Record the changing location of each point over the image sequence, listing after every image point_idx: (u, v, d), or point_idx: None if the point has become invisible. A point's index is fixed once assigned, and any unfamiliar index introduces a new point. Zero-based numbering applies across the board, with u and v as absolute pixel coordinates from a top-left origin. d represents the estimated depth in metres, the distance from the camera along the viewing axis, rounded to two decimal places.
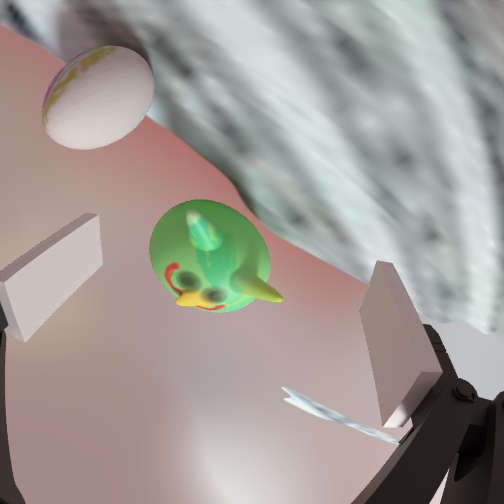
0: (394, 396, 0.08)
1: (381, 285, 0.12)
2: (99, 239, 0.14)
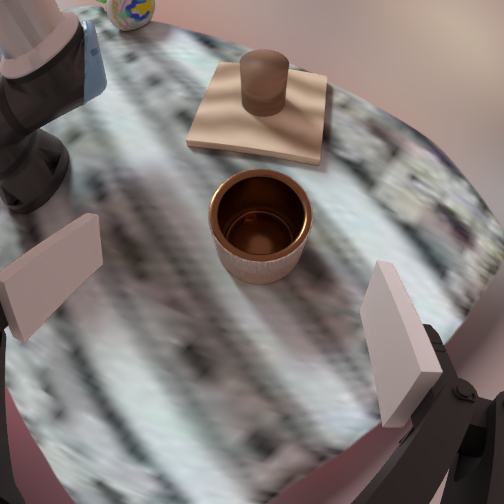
0: (394, 396, 0.08)
1: (381, 285, 0.12)
2: (99, 239, 0.14)
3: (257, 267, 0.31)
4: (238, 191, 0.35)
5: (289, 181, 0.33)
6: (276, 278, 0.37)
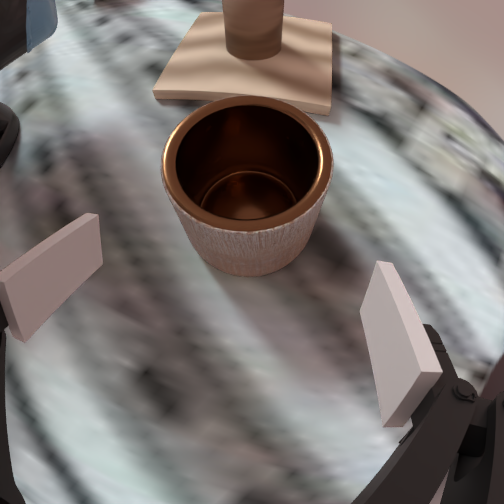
0: (394, 396, 0.08)
1: (381, 285, 0.12)
2: (99, 239, 0.14)
3: (241, 244, 0.18)
4: (213, 132, 0.22)
5: (292, 110, 0.20)
6: (275, 266, 0.24)
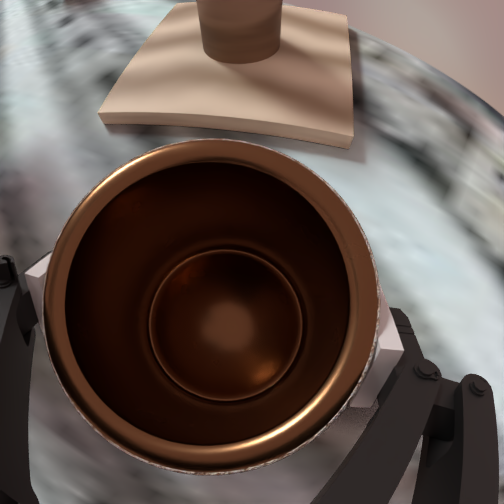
0: None
1: None
2: None
3: None
4: (148, 210, 0.12)
5: (297, 175, 0.10)
6: None
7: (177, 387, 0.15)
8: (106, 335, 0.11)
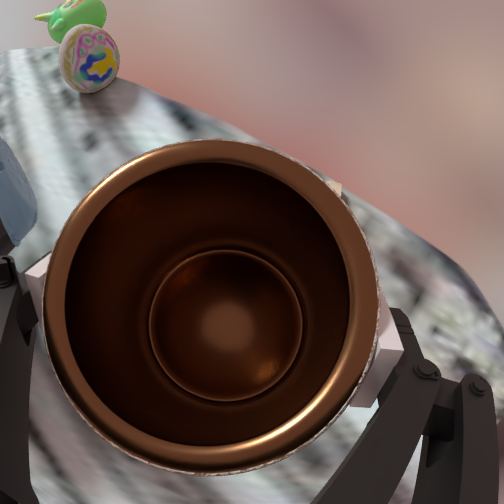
0: None
1: None
2: None
3: None
4: (148, 211, 0.12)
5: (297, 175, 0.10)
6: None
7: (177, 387, 0.15)
8: (106, 336, 0.11)
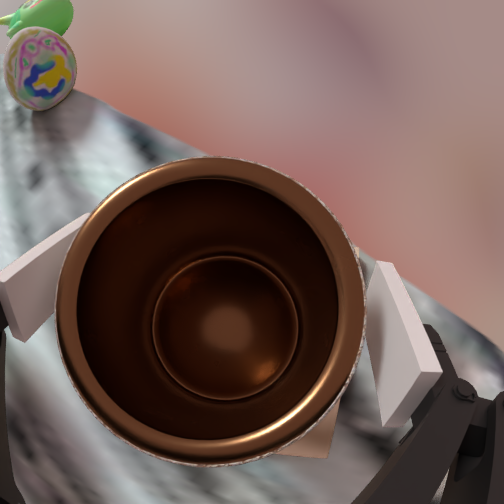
0: (394, 396, 0.08)
1: (381, 285, 0.12)
2: None
3: None
4: (152, 222, 0.13)
5: (291, 192, 0.11)
6: None
7: (179, 387, 0.16)
8: (114, 339, 0.12)
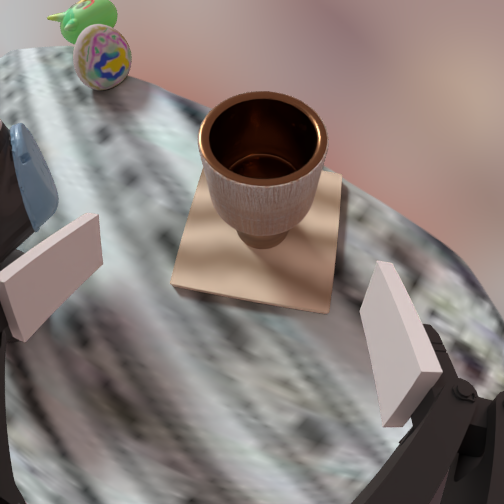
0: (394, 396, 0.08)
1: (381, 285, 0.12)
2: (99, 239, 0.14)
3: (260, 198, 0.24)
4: (235, 119, 0.27)
5: (297, 102, 0.25)
6: (284, 225, 0.29)
7: None
8: None
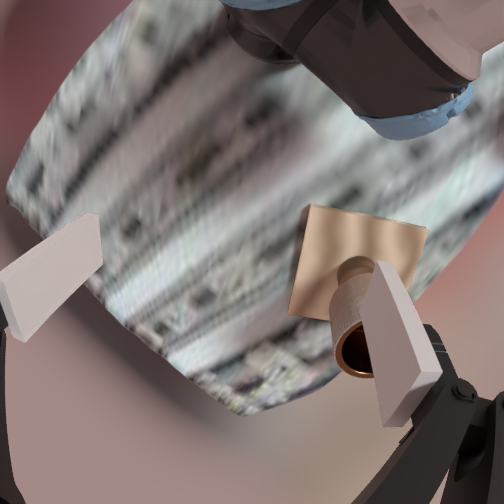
0: (394, 396, 0.08)
1: (381, 285, 0.12)
2: (99, 239, 0.14)
3: (333, 340, 0.36)
4: None
5: None
6: None
7: None
8: None
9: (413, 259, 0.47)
